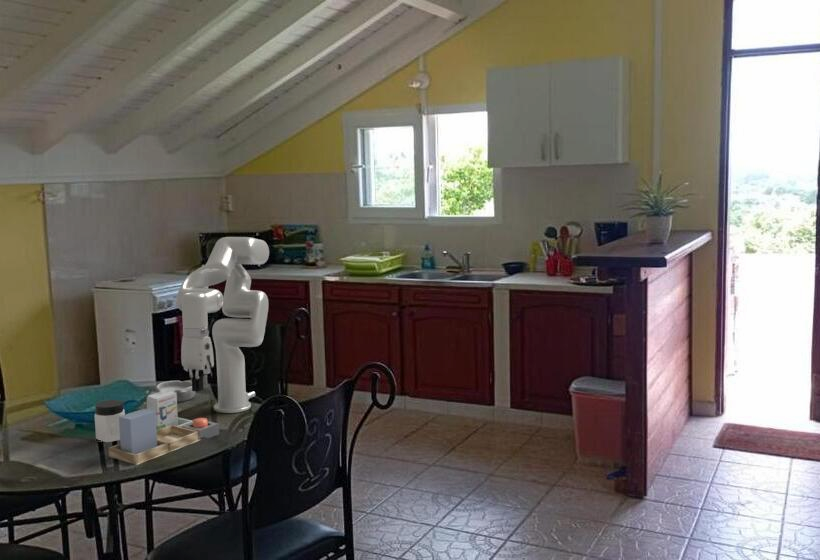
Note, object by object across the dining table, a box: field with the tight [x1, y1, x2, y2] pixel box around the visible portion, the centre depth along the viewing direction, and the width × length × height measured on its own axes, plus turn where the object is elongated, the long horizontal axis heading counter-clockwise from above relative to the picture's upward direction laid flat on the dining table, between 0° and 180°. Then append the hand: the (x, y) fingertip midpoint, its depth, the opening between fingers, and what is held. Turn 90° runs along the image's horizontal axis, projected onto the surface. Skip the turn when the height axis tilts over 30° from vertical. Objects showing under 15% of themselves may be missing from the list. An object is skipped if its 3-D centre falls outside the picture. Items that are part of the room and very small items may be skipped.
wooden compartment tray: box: [107, 425, 201, 466], centre depth 248 cm, size 24×13×4 cm, turn 147°
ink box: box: [146, 390, 179, 430], centre depth 267 cm, size 9×5×12 cm, turn 148°
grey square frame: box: [182, 420, 220, 439], centre depth 262 cm, size 8×8×4 cm
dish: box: [155, 380, 196, 403], centre depth 303 cm, size 14×14×5 cm
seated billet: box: [119, 408, 157, 454], centre depth 242 cm, size 9×5×12 cm, turn 147°
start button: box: [192, 417, 208, 429], centre depth 261 cm, size 4×4×4 cm
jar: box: [94, 399, 126, 443], centre depth 257 cm, size 9×8×12 cm
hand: (197, 390), depth 259 cm, fingers closed
